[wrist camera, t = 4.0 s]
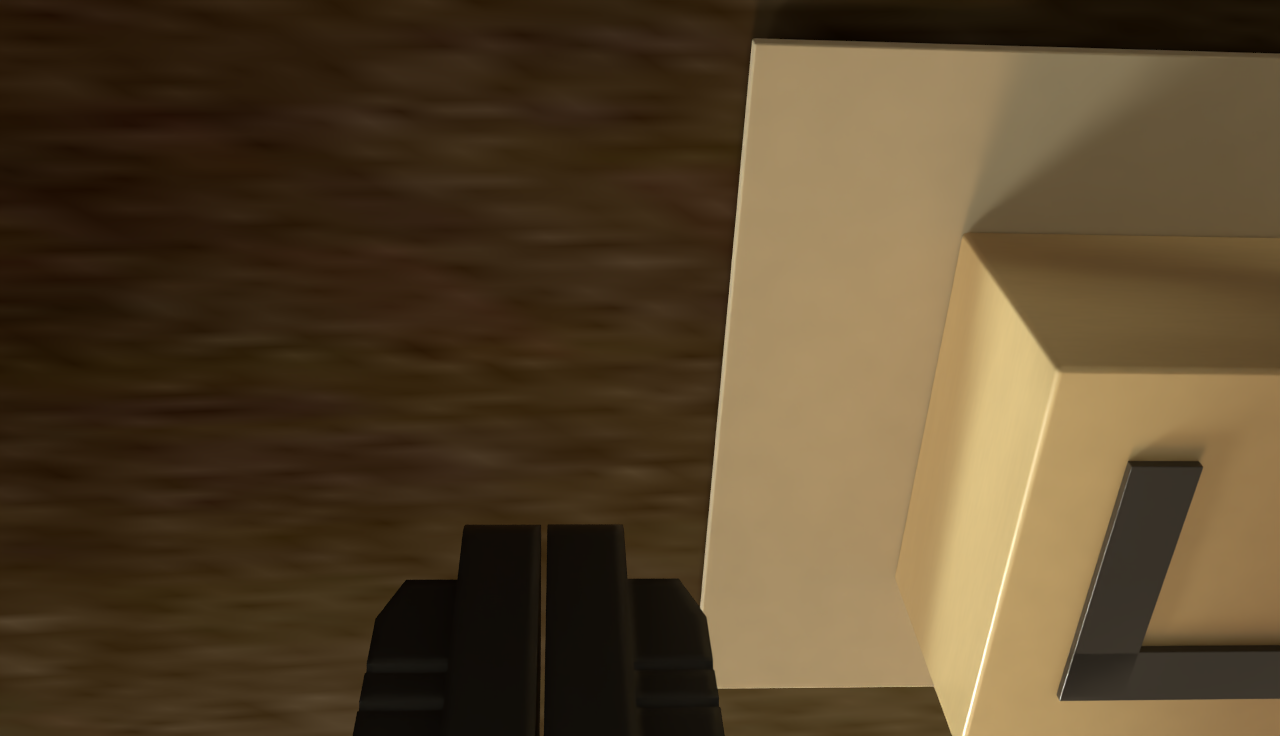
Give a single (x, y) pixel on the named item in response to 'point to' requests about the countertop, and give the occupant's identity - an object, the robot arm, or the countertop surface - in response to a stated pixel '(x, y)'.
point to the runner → (918, 293)
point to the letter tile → (1102, 489)
